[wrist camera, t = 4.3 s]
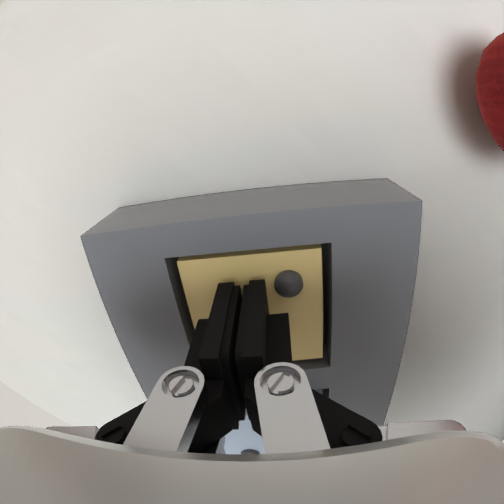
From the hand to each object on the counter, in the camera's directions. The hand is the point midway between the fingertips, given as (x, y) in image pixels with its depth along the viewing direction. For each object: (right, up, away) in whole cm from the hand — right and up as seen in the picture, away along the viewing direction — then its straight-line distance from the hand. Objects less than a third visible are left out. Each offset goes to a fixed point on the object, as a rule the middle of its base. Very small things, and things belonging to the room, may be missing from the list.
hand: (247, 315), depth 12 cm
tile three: (0, +1, +2) cm, 2 cm away
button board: (+1, -5, +6) cm, 8 cm away
